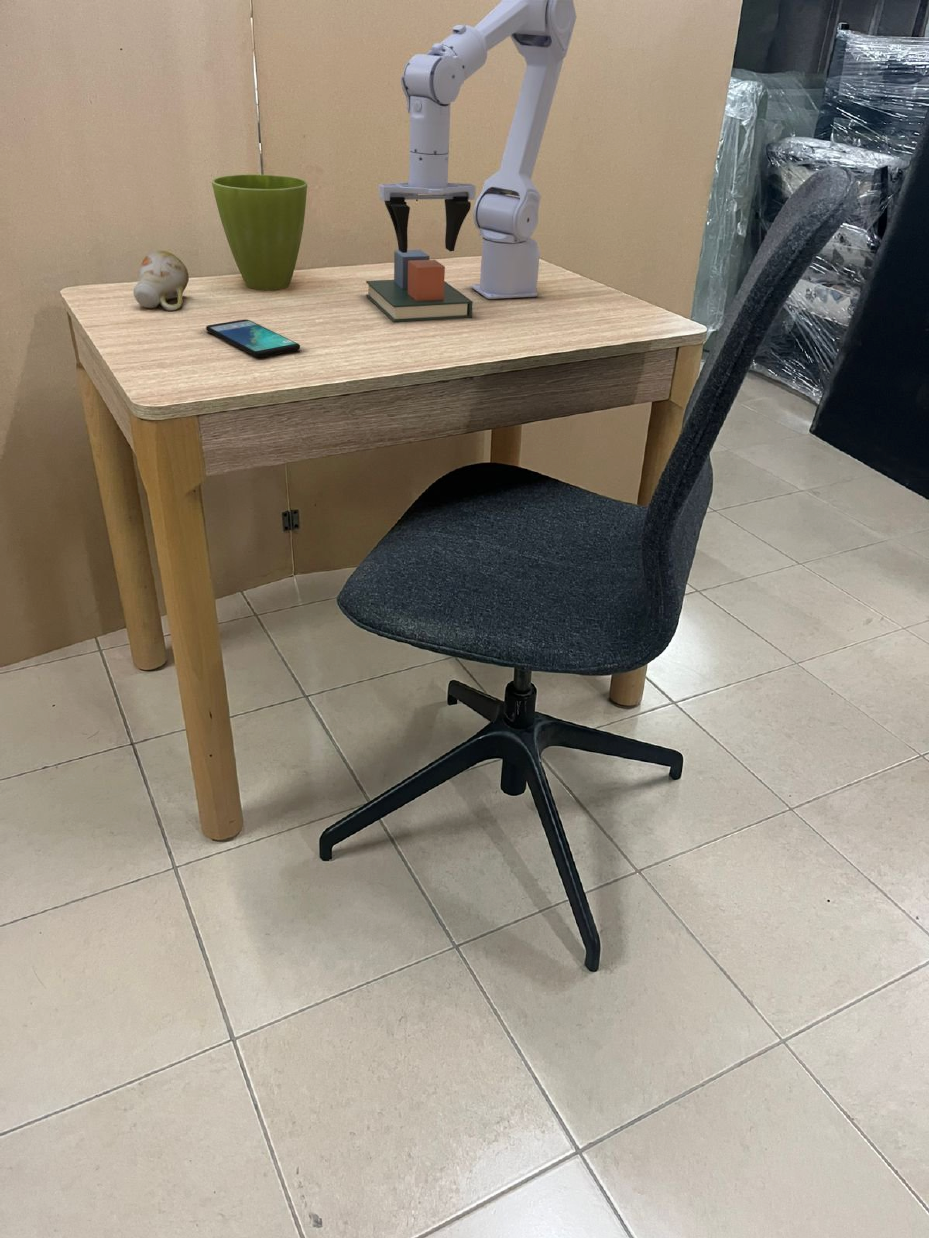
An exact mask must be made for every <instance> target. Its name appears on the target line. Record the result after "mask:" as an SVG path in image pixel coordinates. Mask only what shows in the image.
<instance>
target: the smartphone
mask: <svg viewBox="0 0 929 1238" xmlns="http://www.w3.org/2000/svg"><path fill="white" fill-rule="evenodd" d="M205 330H206V331H207V332H209V333H210V334H213V335H215V336H216V337H218V338H220V339H221V340H224V341H226V342H228V343H229V344H231V345H233V346H234V347H237V348H238V349H241V350H242V351H245V352H246V353H249V354H250V355H251V356H254V357H255V358H264V357H270V356H275V355H279V354H285V353H292V352H296V351H299V350H300V349H301V345H300V344H299V343H297V342H296V341H293V340H291V339H289V338H288V337H285V336H284V335H281V334H279V333H277V332H275V331H273V330H271V329H269V328H267V327H265V326H263V325H261V324H258V323H256V322H254V321H252V320H250V319H245V318H244V319H238V320H233V321H226V322H220V323H214V324H209V325H206V326H205Z"/></svg>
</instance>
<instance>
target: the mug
mask: <svg viewBox="0 0 929 1238" xmlns="http://www.w3.org/2000/svg"><path fill="white" fill-rule="evenodd" d="M189 277H190V275H189V271H188V268H187V266H186V264H184V262H183V261H182V260H181V259H180V258H179V257H178V256H177V255H175V254H174V253H172V252H169V251H167V250H154V251H151V252H150V253H148V254H147V255H146V256H145V257H144V258H143V260H142V262H141V264H140V269H139V281H138V282H137V284H136V285H135V286H134V288H133V291H132V292H133V297H134V299H135V300H136V302H137V303H138V304H139V305H140V306H141V307H144V308H146V309H154V308H157V306H158V305H159V304H160V305H161V307H162V308H163V309H164V310H166V311H176V310H179V309H180V308H181V307H182V305H183V293H184V291H185V290H186V288H187V286H188V284H189V280H190V278H189ZM175 298H177V303H175V304H170V303H168V302H167V301H169V300H172V299H175Z"/></svg>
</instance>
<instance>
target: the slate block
mask: <svg viewBox="0 0 929 1238" xmlns="http://www.w3.org/2000/svg"><path fill="white" fill-rule="evenodd" d="M393 252H394V253H393V254H394V255H393V262H394V263H393V275H394V276H393V280H394V283H396V284H397V285H398V286H399V287H400V288H402V289H408V261H414V260H430V255H429V254H428V253H426V252H425V251H424V250H421V249H407V253H402V252H401V251H399V249H397V250H396V249H395V250H393Z"/></svg>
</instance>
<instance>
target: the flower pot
mask: <svg viewBox="0 0 929 1238" xmlns="http://www.w3.org/2000/svg"><path fill="white" fill-rule="evenodd" d="M211 186H212V190H213V193H214V199H215V202H216V207H217V210H218V215H219V217H220V222H221V225H222V227H223V231H224V234H225V237H226V241H227V243H228V246H229V248H230V251H231V255H232V256H233V259H234V262H235V264H236V266H237V268H238V272H239V273H240V275H241V278H242V281H243V282H244V285H245V286H246V287H248V288H250V289H253V290H258V291H259V290H260V291H276V290H280V289H285V288H288V287H289V286H290V285H291V282H292V278H293V276H294V271H295V269H296V266H297V261H298V256H299V252H300V248H301V242H302V237H303V231H304V224H305V215H306V205H307V191H308V182H307V181H306V180H305V179H301V178H298V177H293V176H286V175H285V176H284V175H274V174H257V173H256V174H252V173H251V174H250V173H249V174H230V175H223V176H222V175H221V176H218V177H215V178H213V179H212V180H211Z"/></svg>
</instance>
